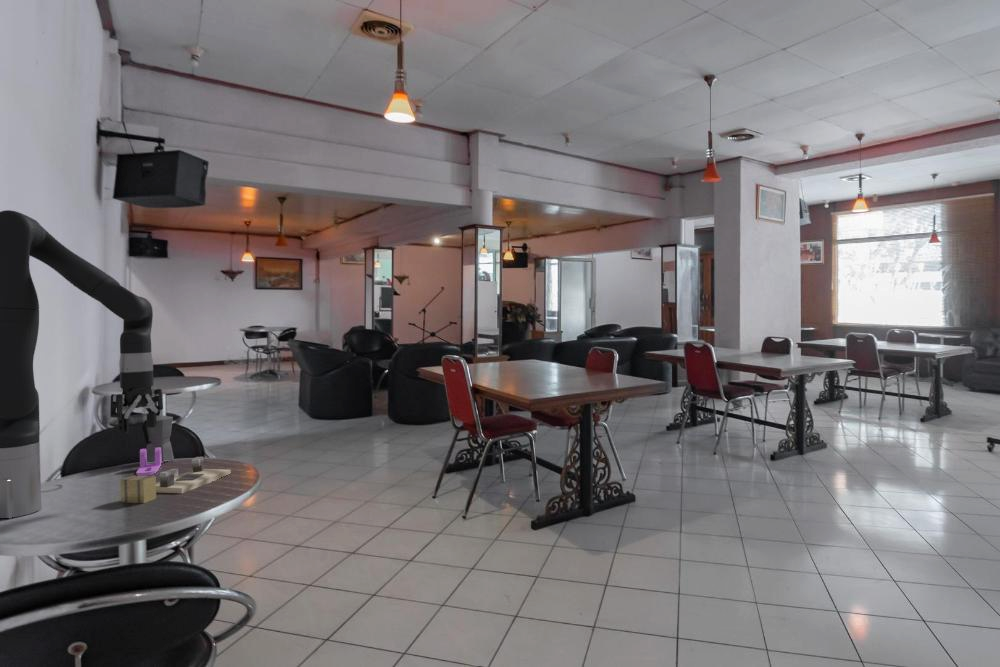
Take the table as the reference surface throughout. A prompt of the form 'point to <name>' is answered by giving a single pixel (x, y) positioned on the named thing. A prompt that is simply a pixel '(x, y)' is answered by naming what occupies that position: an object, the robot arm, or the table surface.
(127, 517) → the table surface
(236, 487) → the table surface
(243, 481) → the table surface
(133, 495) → the tan rectangular block
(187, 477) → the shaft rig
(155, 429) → the coffeepot
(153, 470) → the bracket
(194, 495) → the table surface
